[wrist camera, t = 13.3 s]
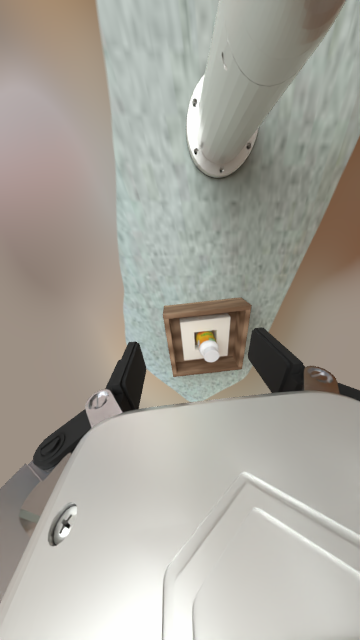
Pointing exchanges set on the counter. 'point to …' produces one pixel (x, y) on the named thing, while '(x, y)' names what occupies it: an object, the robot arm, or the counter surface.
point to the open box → (237, 332)
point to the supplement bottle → (207, 346)
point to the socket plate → (204, 323)
